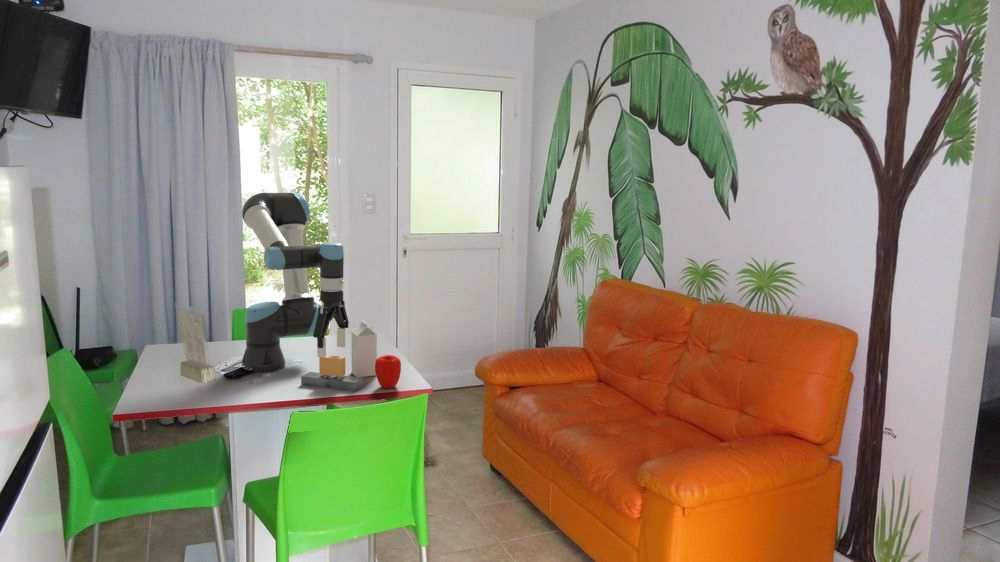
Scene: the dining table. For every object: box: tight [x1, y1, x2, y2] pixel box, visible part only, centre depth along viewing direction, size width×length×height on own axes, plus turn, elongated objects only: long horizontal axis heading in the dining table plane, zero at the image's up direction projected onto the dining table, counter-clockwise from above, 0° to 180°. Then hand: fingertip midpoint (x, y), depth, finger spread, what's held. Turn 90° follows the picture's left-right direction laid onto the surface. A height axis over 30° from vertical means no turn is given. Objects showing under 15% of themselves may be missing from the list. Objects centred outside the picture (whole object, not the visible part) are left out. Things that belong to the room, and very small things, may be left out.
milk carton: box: [351, 320, 378, 378], centre depth 253 cm, size 7×7×19 cm
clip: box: [318, 354, 346, 380], centre depth 239 cm, size 8×3×10 cm, turn 75°
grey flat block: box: [300, 371, 365, 392], centre depth 240 cm, size 20×6×3 cm, turn 75°
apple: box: [375, 354, 402, 389], centre depth 239 cm, size 9×9×11 cm
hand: (331, 351), depth 238 cm, fingers open, 13 cm apart
